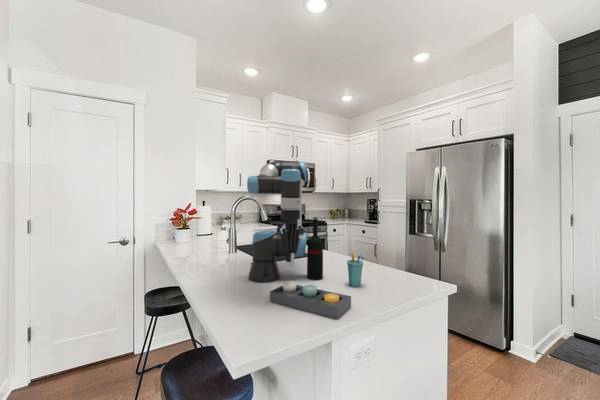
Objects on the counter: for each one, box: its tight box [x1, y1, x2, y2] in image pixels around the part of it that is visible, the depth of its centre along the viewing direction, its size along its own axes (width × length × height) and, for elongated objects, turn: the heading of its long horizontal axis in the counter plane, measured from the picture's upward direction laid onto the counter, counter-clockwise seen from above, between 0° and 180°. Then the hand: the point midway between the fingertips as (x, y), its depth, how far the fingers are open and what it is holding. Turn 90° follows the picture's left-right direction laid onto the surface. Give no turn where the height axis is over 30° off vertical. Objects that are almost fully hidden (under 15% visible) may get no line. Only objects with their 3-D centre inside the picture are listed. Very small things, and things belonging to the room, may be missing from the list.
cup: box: [346, 252, 365, 288], centre depth 126 cm, size 14×8×15 cm, turn 14°
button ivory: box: [282, 280, 297, 293], centre depth 109 cm, size 5×5×4 cm
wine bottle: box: [306, 216, 324, 281], centre depth 138 cm, size 8×10×30 cm
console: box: [269, 284, 352, 320], centre depth 104 cm, size 28×12×4 cm, turn 59°
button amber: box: [324, 293, 339, 303], centre depth 100 cm, size 5×5×4 cm
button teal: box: [302, 284, 318, 298], centre depth 104 cm, size 5×5×4 cm
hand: (290, 269), depth 109 cm, fingers closed
